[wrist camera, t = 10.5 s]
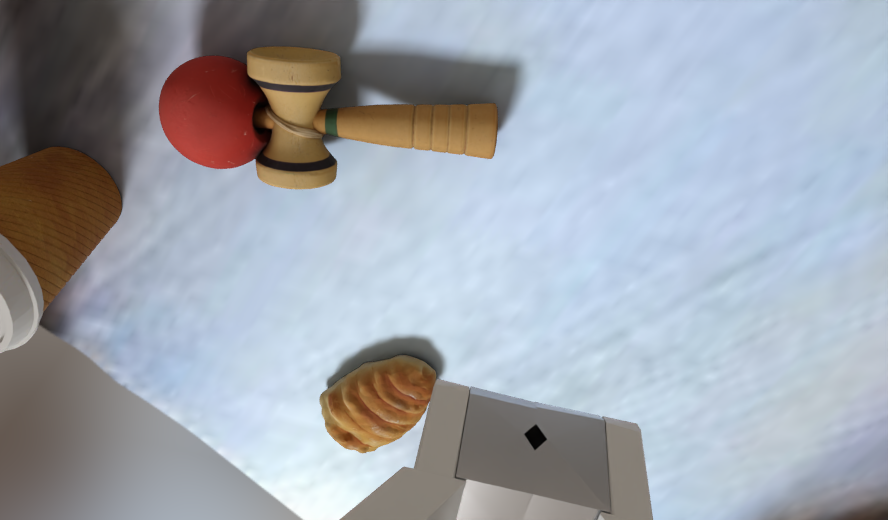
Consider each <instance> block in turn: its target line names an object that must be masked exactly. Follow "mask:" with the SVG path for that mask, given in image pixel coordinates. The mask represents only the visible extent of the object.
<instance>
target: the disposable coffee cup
mask: <svg viewBox="0 0 888 520" xmlns="http://www.w3.org/2000/svg"><path fill="white" fill-rule="evenodd" d="M121 210H122V201H121V197H120V193H119V191H118V188H117V186H116V184H115V183H114V181H113V180H112V178H111V177H110V175H109V174H108V173H107V171H106V170H105V169H104V168H103V167H102V166H100V165H99V164H98V163H97V162H96V161H95V160H93V159H92V158H90V157H88V156H87V155H85V154H83V153H81V152H79V151H77V150H74V149H70V148H66V147H49V148H46V149H43V150H41V151H39V152H36V153H34V154H31V155H29V156H26V157H24V158H21V159H18V160H16V161H13V162H11V163H8V164H6V165H3V166H1V167H0V353H2V352H3V351H6V350H10V349H15V348H17V347H19V346H21V345H23V344H25V343H26V342H27V341H28V340H29V339H30V338H31V337H32V336H33V335H34V333H35V332H36V330H37V329H38V325H39V321H40V319H41V317H42V315H43V311H44V310H45V309H46V308H47V307H48V305H49V303H51V302H52V301H53V299H54V298H55V296H56V295H58V293H59V292H60V290H61V289H62V288H63V287H64V286H65V285H66V282H68V281H69V280H70V278H71V277H72V275H74V274H75V272H76V271H77V269H79V267H80V266H81V265H82V263H84V261H85V260H86V258H87V256H89V255H90V254H91V252H92V251H93V250H94V249H95V247H96V246H97V245H98V244H99V243H100V241H101V239H103V238H104V236H105V235H106V234H107V233H108V231H109V230H110V228H112V227H113V225H114V224H115V223H116V222H117V220H118V218H119V216H120V214H121Z"/></svg>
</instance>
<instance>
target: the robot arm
mask: <svg viewBox="0 0 888 520" xmlns="http://www.w3.org/2000/svg"><path fill="white" fill-rule="evenodd" d="M340 520H653V516H652V509H651V501H650V494H649V487H648V479H647V472H646V465H645V457H644V450H643V443H642V435H641V429H640V428H639V426H638V425H637V424H636V423H631V422H627V421H622V420H617V419H613V418H608V417H601V416H599V415H594V414H589V413H585V412H580V411H575V410H571V409H566V408H561V407H556V406H552V405H547V404H542V403H538V402H531V401H527V400H523V399H519V398H515V397H511V396H507V395H503V394H499V393H495V392H491V391H487V390H483V389H479V388H475V387H470V390H469V387H468V386H464V385H460V384H456V383H452V382H448V381H444V380H440V379H437V380H436V382H435V384H434V387H433V391H432V395H431V399H430V403H429V408H428V412H427V416H426V420H425V424H424V428H423V432H422V437H421V441H420V445H419V449H418V453H417V457H416V462H415V466H414V469H413V468H408V467H402V468H401V469H400V470H399V471H398V472H396V473H395V474H394V475H393V476H392V477H390V478H389V479H388V480H387V481H386V482H384V483H383V484H382V485H381V486H380V487H378V488H377V489H376V490H375V491H374V492H372V493H371V494H370V495H369V496H368V497H366V498H365V499H364V500H363V501H362V502H360V503H359V504H358V505H357V506H356V507H354V508H353V509H352V510H351V511H350V512H348V513H347V514H346V515H345V516H344V517H342V518H341V519H340Z"/></svg>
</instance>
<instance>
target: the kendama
mask: <svg viewBox="0 0 888 520" xmlns="http://www.w3.org/2000/svg"><path fill="white" fill-rule="evenodd" d="M340 79H341V61H340V57H339V56H338V55H337V54H335V53H332V52H329V51H322V50H317V49H311V48H301V47H285V46H280V47H275V46H272V47H259V48H254V49H252V50H250V51H248V52H247V65H245V64H243V63H241V62H239V61H237V60H235V59H232V58H228V57H223V56H203V57H198V58H195V59H192V60H189V61H187V62H185V63H184V64H182V65H180V66H179V67H178V68H176V69H175V70H174V71H173V72H172V73H171V74H170V76H169V77H168V78H167V80H166V81H165V83H164V85H163V88H162V91H161V94H160V100H159V115H160V121H161V125H162V128H163V130H164V133H165V135H166V137H167V138H168V140H169V141H170V143H171V144H172V145H173V146H174V147H175V148H176V149H177V150H178V151H179V152H180V153H181V154H182V155H183V156H185V157H186V158H188V159H189V160H191V161H193V162H195V163H197V164H200V165H203V166H206V167H210V168H216V169H227V168H234V167H238V166H241V165H244V164H246V163H248V162H250V161H252V160H253V159H256V168H257V175H258V177H259V179H260V180H261V181H263V182H265V183H267V184H269V185H272V186H276V187H281V188H287V189H312V188H318V187H322V186H325V185H328V184H330V183H332V182H333V181H334V180H335V179H336V172H337V161H336V159H335V158H334V157H333V156H332V155H331V154H330V152H329V151H328V150H327V148H326V147H325V145H324V143H323V140H322V137H323V136H324V135H325V134H328V135H332V136H337V137H342V138H346V139H352V140H357V141H362V142H367V143H373V144H379V145H386V146H393V147H401V148H413V147H414V148H415V149H419V150H432V151H436V152H444V153H445V152H448V153H452V154H465V155H467V156H473V157H480V158H487V159H492V158H493V156H494V153H495V147H496V142H497V130H498V110H497V106H496V104H495V103H486V104H469V105H467V106H466V105H464V104H453V105H434V106H433V105H423V104H421V105H416V106H414V105H408V104H393V105H368V106H357V107H344V108H332V109H321V106H322V103H323V101H324V99H325V97H326V95H327V93H328V92H329V91H330V89H331V88H332V87H333V86H334V85H335V84H336V82H338V81H339V80H340Z"/></svg>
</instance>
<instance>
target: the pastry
mask: <svg viewBox="0 0 888 520" xmlns="http://www.w3.org/2000/svg"><path fill="white" fill-rule="evenodd" d="M435 382H436V372H435V370H434V369H432V368H431V367H430V366H429V365H428V364H427V363H425V362H424V361H421V360H419V359H417V358H414V357H411V356H408V355H398V356H395V357H393V358H391V359H387V360H380V361H376V362H366V363H363V364H362V365H361V366H360V367H359V368H357V369H355V370H354V371H352V372H351V373H349V374H347V375H345V376H344V377H342V378H341V379H339V380H338V381H337V382H335V383H334V385H333V386H331V387H329V388H328V389H327V390H325V391H324V392H323V393H322V394H321V396H320V405H321V407H322V415H323V417H324V419H325V427H326V429H327V432H328V433H329V434H330V436H331V437H332V438H333V439H334V440H335V441H337V442H338V443H339V444H340V445H341V446H343V447H344V448H346V449H350V450H356V451H358V452H360V453H366V452H371V451H375V450H376V449H377V448H378V447H380V446H383V445H386V444H389V443H391V442H393V441H395V440H397V439H399V438H401V437H402V436H403V435H404V434H405V433H406V432H407V431H409V430H410V429H411V428H412V427H413V426H415V425H416V423H417V422H418V421H419V420H420V419H421V417H422V415H423V414H424V412H425V411H426V408H427V406H428V403H429V401H430V399H431V395H432V391H433V387H434V384H435Z"/></svg>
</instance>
